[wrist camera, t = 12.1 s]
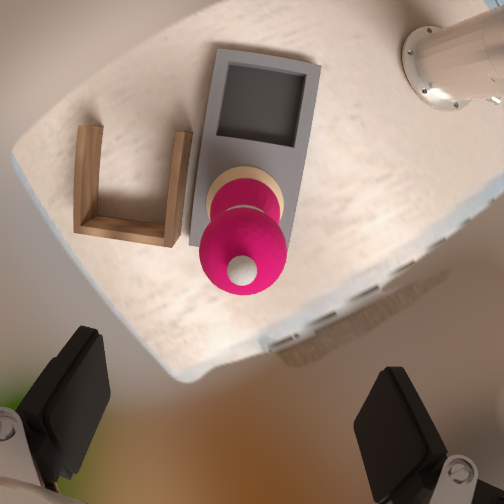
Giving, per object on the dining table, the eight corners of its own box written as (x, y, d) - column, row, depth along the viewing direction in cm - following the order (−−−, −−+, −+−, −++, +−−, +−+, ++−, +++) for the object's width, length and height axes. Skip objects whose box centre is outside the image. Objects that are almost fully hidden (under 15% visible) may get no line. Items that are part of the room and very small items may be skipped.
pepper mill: (220, 168, 35) (188, 202, 17) (283, 181, 36) (320, 229, 17) (209, 228, 38) (172, 317, 19) (269, 239, 38) (286, 338, 20)
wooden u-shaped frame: (192, 132, 36) (184, 131, 31) (180, 234, 40) (171, 247, 36) (96, 126, 35) (78, 125, 31) (90, 222, 40) (73, 232, 35)
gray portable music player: (317, 68, 33) (321, 65, 31) (283, 253, 42) (285, 260, 39) (219, 52, 33) (217, 47, 31) (191, 240, 41) (188, 246, 39)
